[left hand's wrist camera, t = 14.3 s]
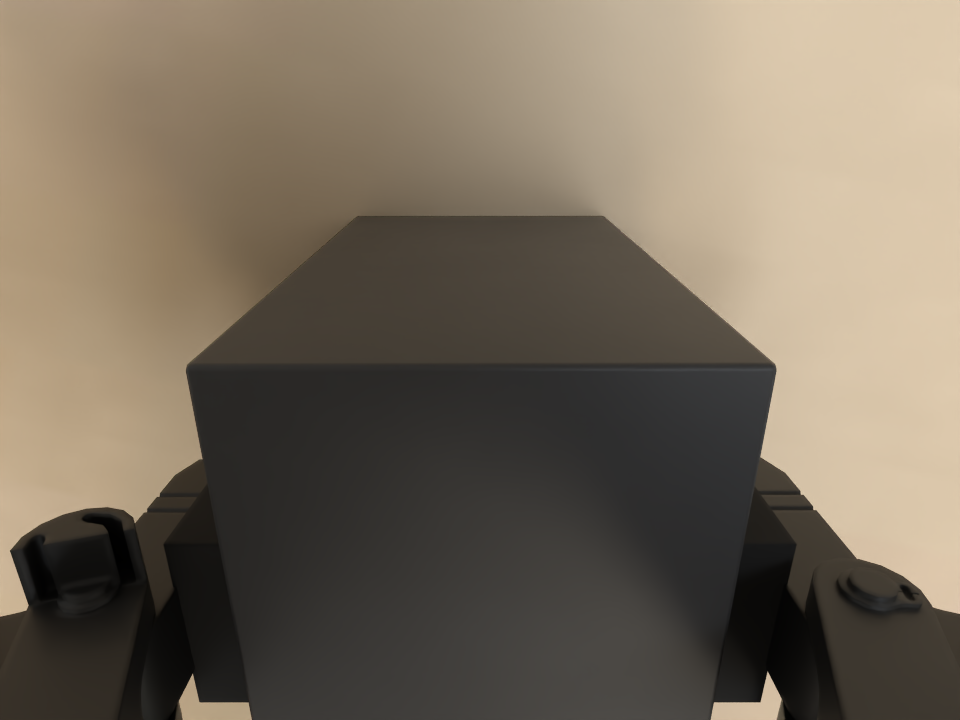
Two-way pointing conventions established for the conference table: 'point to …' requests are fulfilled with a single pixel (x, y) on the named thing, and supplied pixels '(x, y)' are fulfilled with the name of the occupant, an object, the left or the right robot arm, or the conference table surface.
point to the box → (481, 476)
